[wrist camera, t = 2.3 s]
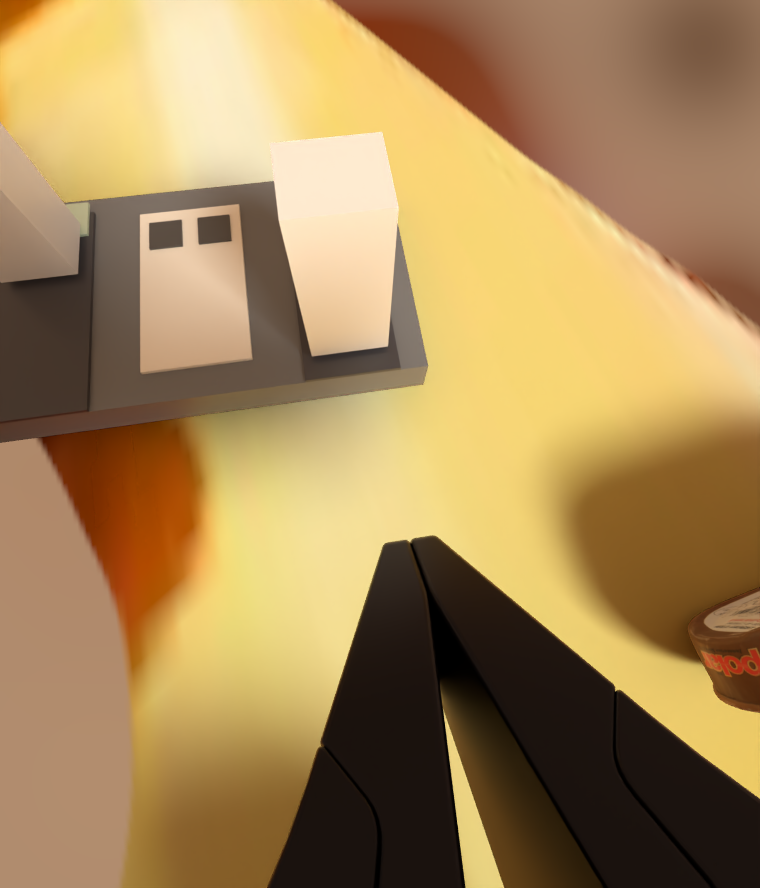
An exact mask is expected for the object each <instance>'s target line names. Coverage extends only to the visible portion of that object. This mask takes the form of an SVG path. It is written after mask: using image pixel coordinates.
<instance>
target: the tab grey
mask: <svg viewBox="0 0 760 888" xmlns="http://www.w3.org/2000/svg"><path fill="white" fill-rule="evenodd" d="M79 242H80V223H79V222H78V220H77V219H76V218H75V217H74V215H73V214H72V213H71V211H70V210H69V209H68V208H67V206H66V205H65V204H64V203H63V201H62V200H61V199H60V197H59V196H58V195H57V194H56V192H55V191H54V190H53V189H52V187H51V186H50V185H49V184H48V182H47V181H46V180H45V178H44V177H43V176H42V175H41V173H40V172H39V171H38V170H37V168H36V167H35V166H34V164H33V163H32V162H31V161H30V159H29V158H28V157H27V156H26V154H25V153H24V152H23V150H22V149H21V148H20V147H19V145H18V144H17V143H16V142H15V140H14V139H13V138H12V137H11V135H10V134H9V133H8V131H7V130H6V129H5V128H4V126H3V125H2V124H1V123H0V282H1V283H5V282H13V281H22V280H31V279H40V278H48V277H57V276H66V275H75V274H78V264H79Z"/></svg>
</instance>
